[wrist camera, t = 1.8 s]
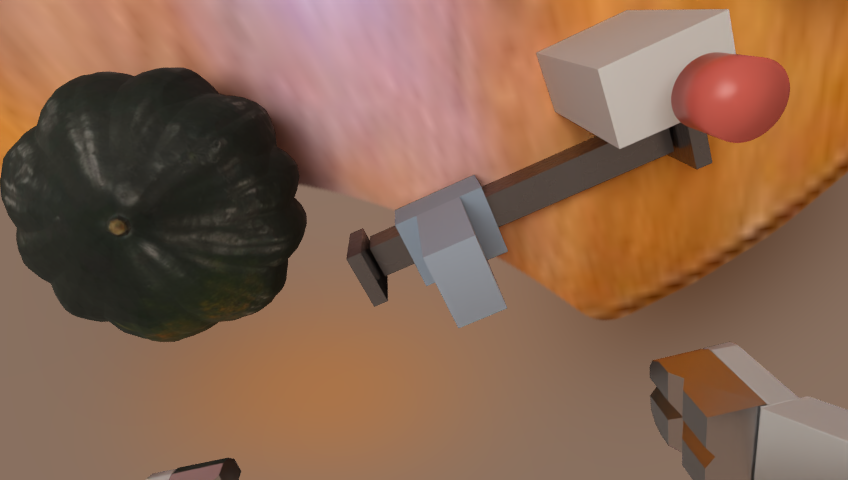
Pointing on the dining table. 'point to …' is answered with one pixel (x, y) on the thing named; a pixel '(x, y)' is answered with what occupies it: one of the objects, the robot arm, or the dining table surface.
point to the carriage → (456, 248)
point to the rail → (533, 193)
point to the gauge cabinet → (630, 69)
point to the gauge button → (731, 95)
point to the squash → (154, 202)
